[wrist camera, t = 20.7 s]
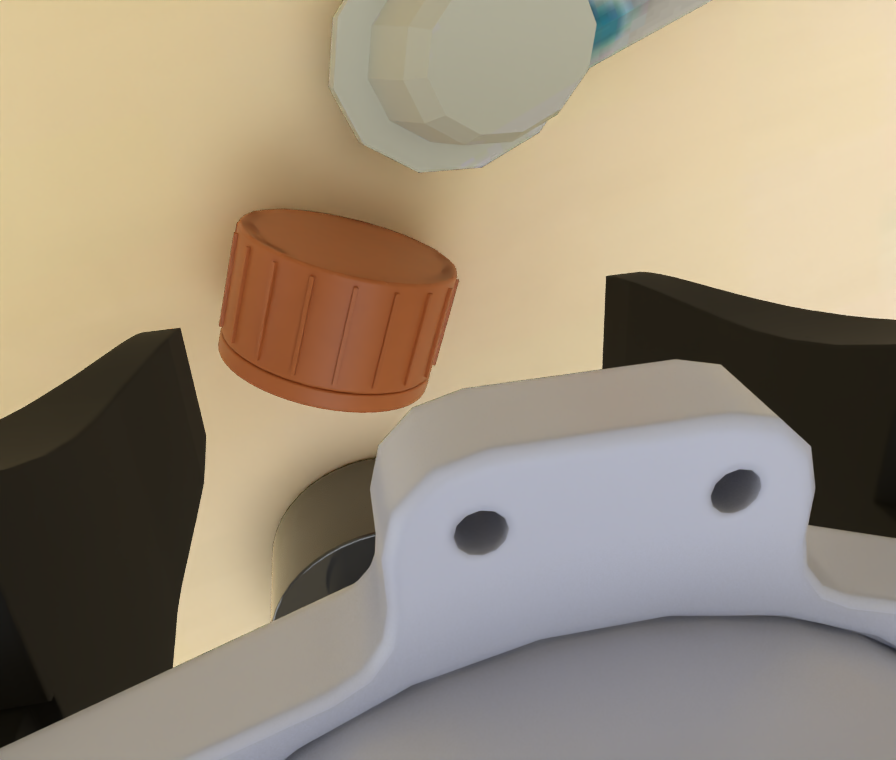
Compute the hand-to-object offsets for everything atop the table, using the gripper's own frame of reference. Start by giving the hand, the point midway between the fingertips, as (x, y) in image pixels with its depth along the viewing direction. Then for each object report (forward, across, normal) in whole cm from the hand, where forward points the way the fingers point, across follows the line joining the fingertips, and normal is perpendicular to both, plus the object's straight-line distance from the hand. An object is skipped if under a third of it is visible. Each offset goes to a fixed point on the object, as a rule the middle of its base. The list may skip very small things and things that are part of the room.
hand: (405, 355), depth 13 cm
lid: (+8, 0, 0) cm, 8 cm away
